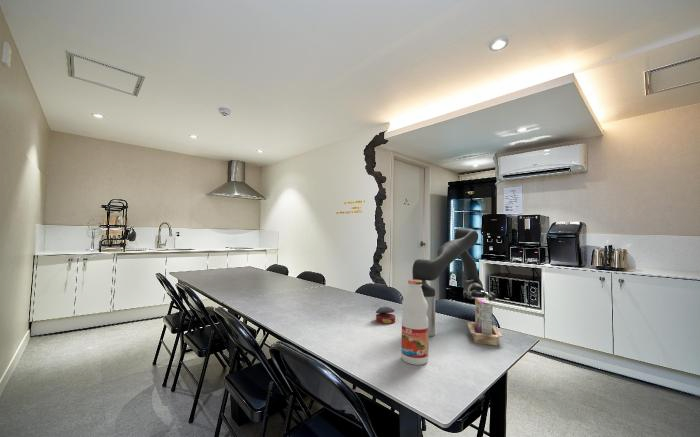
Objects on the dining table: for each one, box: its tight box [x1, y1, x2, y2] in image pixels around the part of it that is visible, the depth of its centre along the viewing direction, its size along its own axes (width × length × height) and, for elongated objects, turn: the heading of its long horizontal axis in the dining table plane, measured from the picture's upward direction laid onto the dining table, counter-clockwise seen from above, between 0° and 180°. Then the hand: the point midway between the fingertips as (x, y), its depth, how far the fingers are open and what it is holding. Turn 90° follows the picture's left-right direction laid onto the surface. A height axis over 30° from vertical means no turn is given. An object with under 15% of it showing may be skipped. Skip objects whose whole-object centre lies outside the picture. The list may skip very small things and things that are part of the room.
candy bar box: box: [474, 298, 494, 335], centre depth 126 cm, size 11×5×16 cm, turn 168°
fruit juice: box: [400, 279, 429, 366], centre depth 103 cm, size 9×9×28 cm
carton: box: [467, 321, 503, 347], centre depth 126 cm, size 12×18×4 cm, turn 163°
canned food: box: [375, 306, 396, 325], centre depth 148 cm, size 11×10×10 cm
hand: (480, 298), depth 136 cm, fingers open, 8 cm apart
